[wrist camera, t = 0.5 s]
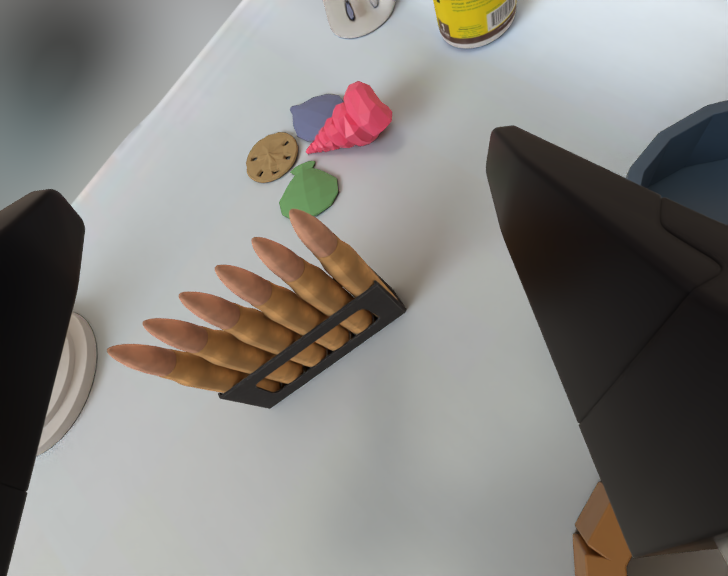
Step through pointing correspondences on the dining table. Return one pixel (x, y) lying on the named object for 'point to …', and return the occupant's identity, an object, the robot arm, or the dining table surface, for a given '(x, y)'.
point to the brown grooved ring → (599, 539)
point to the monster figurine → (70, 382)
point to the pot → (690, 162)
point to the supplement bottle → (473, 20)
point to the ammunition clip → (271, 321)
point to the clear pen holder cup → (356, 16)
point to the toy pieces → (318, 144)
